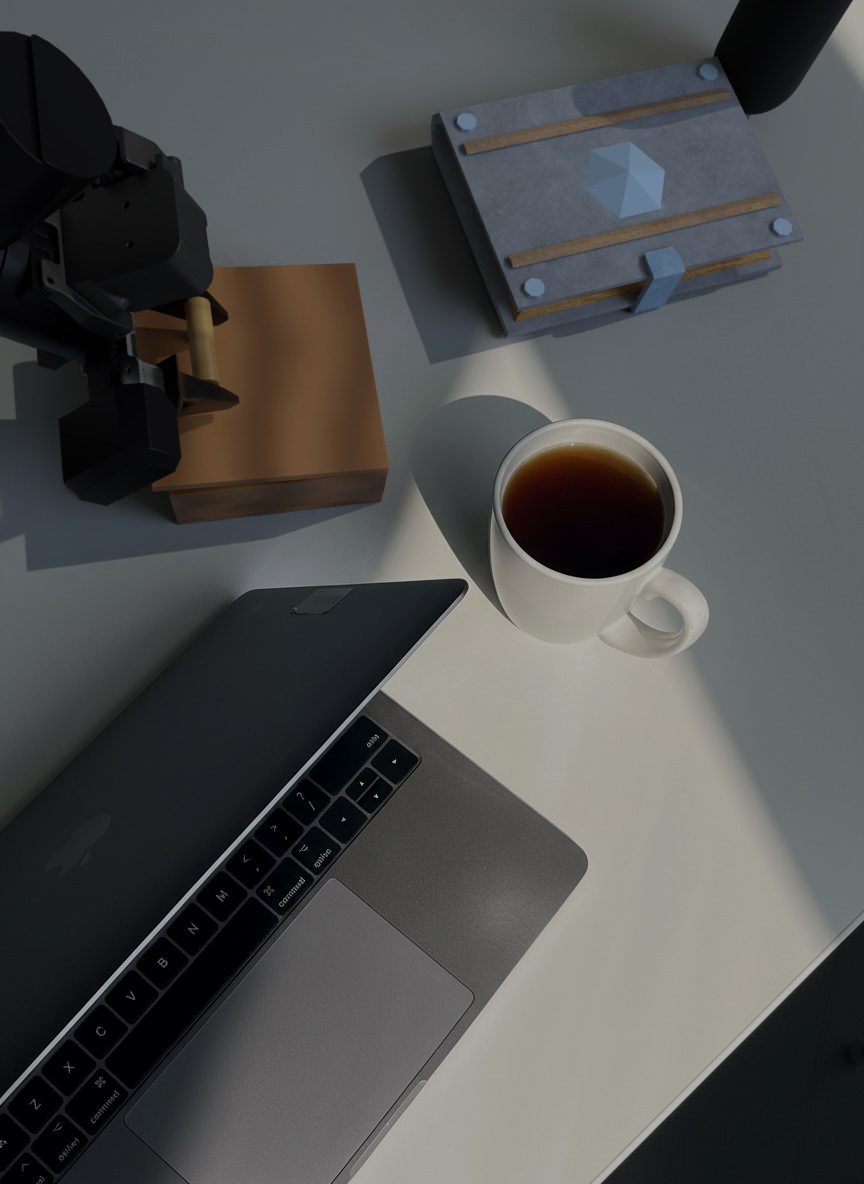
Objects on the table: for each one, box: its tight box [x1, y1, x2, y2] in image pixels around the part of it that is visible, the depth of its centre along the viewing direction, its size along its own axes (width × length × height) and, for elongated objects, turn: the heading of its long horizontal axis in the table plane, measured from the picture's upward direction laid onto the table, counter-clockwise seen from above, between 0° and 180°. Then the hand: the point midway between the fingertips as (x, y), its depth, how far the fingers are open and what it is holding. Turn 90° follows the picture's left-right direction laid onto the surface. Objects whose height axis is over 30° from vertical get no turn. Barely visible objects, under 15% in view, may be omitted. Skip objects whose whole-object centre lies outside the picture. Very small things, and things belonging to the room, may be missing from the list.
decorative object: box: [712, 0, 854, 116], centre depth 70 cm, size 7×7×15 cm
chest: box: [167, 471, 389, 525], centre depth 63 cm, size 13×14×5 cm
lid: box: [132, 262, 390, 492], centre depth 58 cm, size 13×14×5 cm
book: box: [430, 56, 805, 339], centre depth 71 cm, size 21×16×5 cm
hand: (228, 361), depth 58 cm, fingers closed on lid, 5 cm apart
